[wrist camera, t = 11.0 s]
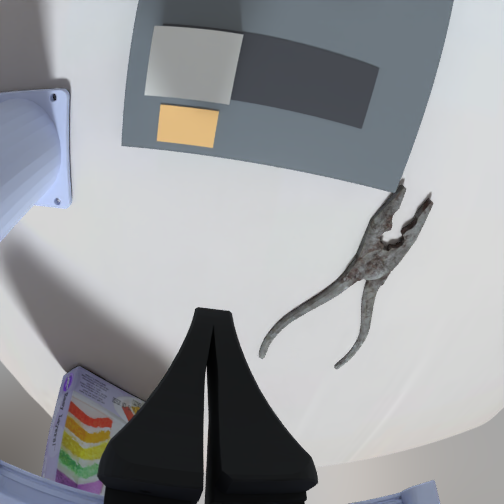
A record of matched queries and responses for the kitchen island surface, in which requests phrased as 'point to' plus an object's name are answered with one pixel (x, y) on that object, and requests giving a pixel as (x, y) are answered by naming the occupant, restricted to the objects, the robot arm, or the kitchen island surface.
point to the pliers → (365, 269)
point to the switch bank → (299, 84)
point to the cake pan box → (85, 428)
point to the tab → (192, 64)
